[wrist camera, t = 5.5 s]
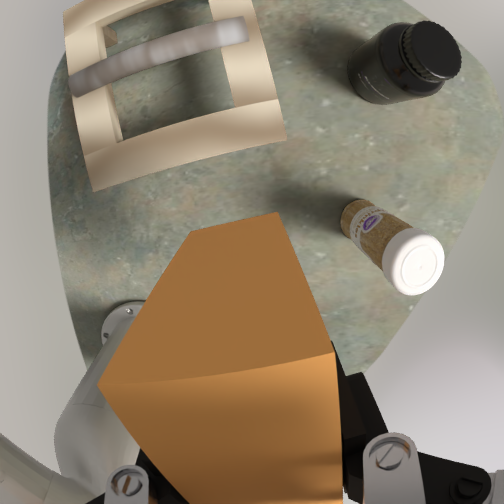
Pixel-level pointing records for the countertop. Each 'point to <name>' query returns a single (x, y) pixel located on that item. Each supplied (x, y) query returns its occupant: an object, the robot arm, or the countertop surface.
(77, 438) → the robot arm
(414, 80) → the supplement bottle
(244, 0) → the wooden frame stool
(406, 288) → the sprinkles bottle
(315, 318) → the orange block
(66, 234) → the countertop surface
